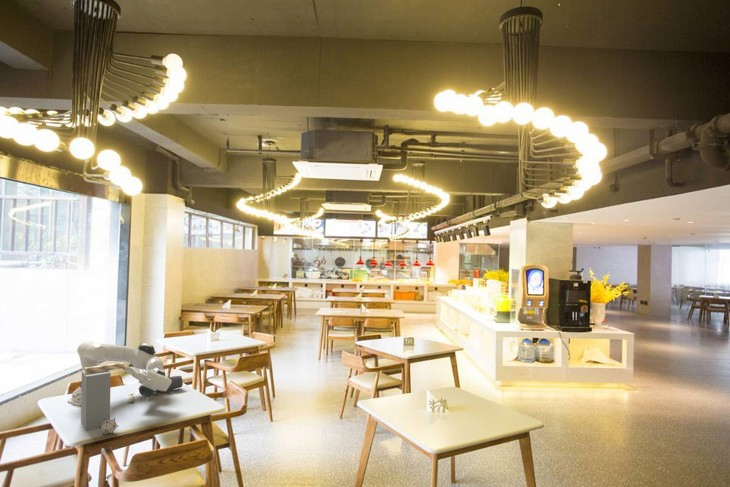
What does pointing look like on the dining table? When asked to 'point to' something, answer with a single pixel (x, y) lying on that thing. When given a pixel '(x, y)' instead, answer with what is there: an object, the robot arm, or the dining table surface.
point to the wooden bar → (104, 368)
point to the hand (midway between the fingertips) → (124, 369)
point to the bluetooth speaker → (173, 384)
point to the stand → (95, 399)
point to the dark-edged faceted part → (108, 426)
